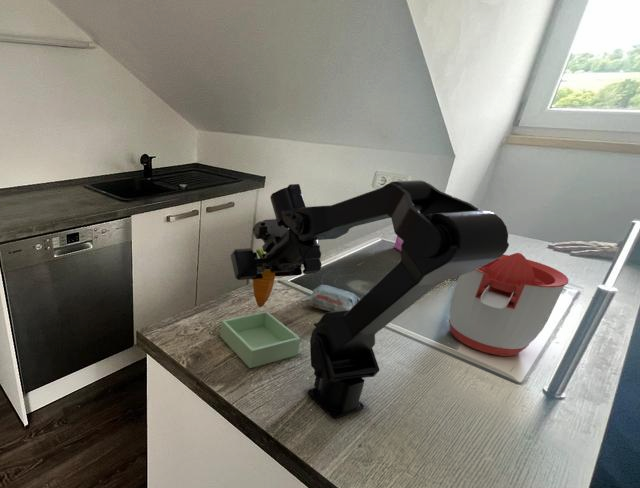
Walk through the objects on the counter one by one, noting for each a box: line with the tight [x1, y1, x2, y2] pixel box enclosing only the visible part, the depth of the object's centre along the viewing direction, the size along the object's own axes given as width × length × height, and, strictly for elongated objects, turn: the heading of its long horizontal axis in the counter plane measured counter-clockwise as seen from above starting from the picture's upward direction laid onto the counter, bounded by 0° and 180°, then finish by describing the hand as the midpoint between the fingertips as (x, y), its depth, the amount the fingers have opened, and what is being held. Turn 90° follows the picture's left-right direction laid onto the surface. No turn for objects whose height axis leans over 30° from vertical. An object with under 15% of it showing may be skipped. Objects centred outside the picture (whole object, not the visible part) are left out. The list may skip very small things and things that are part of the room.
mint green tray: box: [219, 310, 302, 369], centre depth 79 cm, size 11×11×4 cm
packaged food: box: [300, 284, 361, 312], centre depth 92 cm, size 9×12×5 cm
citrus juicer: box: [448, 252, 569, 357], centre depth 77 cm, size 16×17×20 cm
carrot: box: [252, 247, 276, 308], centre depth 88 cm, size 5×5×15 cm
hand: (260, 275), depth 89 cm, fingers closed on carrot, 5 cm apart
